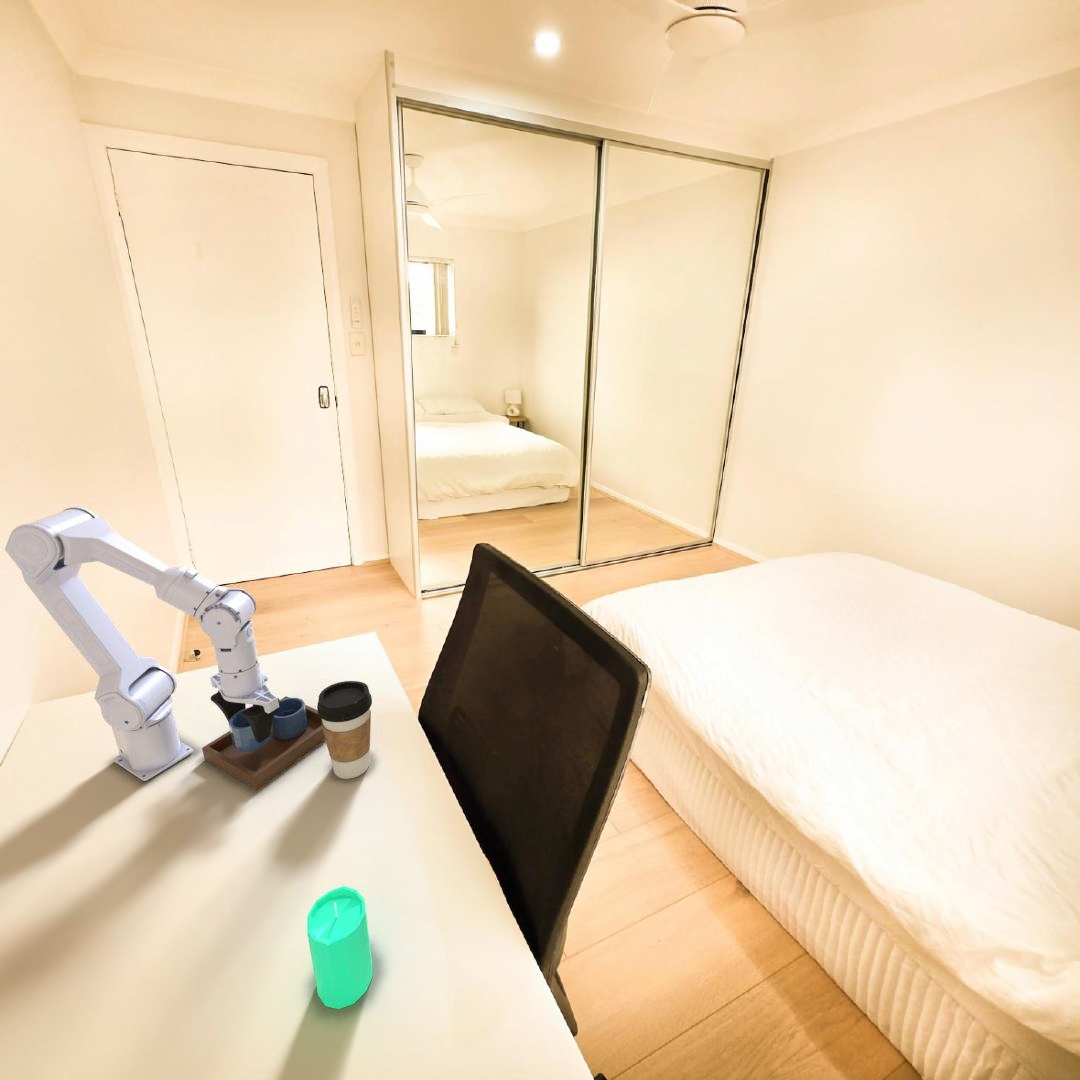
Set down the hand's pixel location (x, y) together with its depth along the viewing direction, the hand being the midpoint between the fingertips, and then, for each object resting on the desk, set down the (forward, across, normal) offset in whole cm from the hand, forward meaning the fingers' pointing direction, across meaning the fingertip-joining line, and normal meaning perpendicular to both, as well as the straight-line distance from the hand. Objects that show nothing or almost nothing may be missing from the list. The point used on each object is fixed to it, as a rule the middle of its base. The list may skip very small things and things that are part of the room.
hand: (251, 732), depth 90 cm
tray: (+5, 0, -4) cm, 6 cm away
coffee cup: (+5, -16, -6) cm, 18 cm away
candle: (+5, -40, +18) cm, 44 cm away
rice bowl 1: (+2, 0, 0) cm, 2 cm away
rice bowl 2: (+4, 0, -7) cm, 8 cm away
